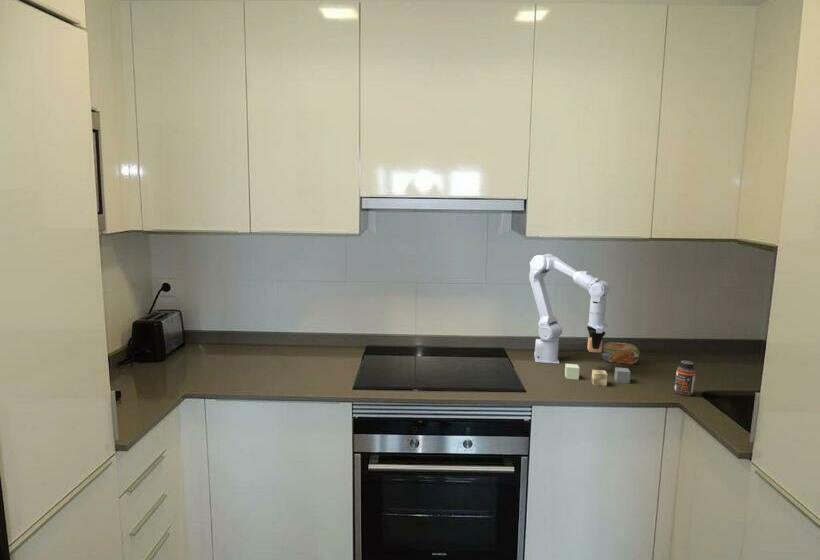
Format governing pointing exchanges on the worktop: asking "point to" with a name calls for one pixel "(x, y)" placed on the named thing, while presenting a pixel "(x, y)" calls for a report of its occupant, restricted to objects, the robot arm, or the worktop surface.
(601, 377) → the maple block
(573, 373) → the sage block
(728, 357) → the worktop surface
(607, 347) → the tin
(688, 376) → the supplement bottle
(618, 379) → the slate block
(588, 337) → the terracotta block
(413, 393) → the worktop surface
